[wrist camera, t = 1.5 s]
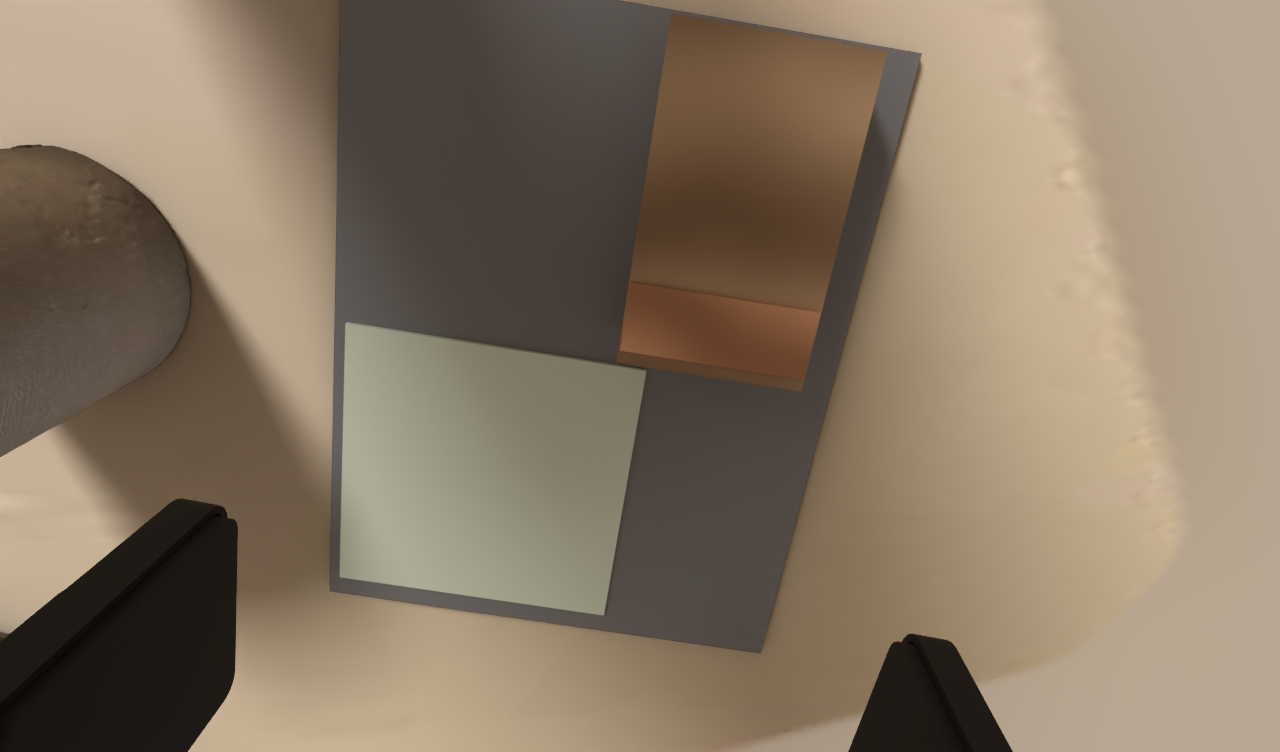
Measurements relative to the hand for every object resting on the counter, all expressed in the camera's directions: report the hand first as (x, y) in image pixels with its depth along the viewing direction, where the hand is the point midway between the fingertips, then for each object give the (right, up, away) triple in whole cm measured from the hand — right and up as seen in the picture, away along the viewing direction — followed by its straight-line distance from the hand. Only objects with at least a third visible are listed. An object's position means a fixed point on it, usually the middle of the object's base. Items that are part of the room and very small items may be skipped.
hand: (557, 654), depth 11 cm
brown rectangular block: (+4, +10, +17) cm, 20 cm away
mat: (-1, +5, +20) cm, 20 cm away
